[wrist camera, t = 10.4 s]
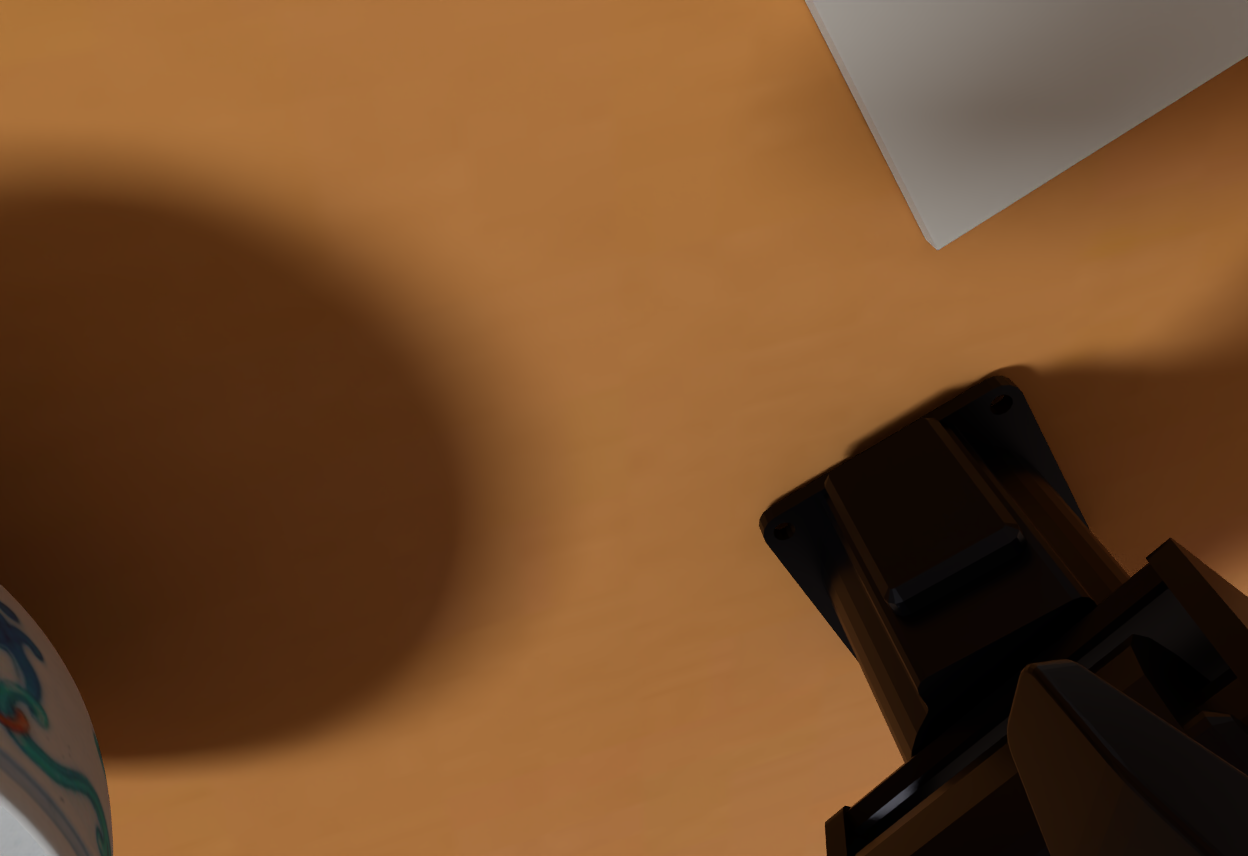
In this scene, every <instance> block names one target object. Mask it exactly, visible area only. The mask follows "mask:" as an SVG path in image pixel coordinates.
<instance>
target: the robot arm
mask: <svg viewBox="0 0 1248 856" xmlns="http://www.w3.org/2000/svg"><path fill="white" fill-rule="evenodd" d="M1000 395H1004V396H1003V398H1002V400H1001V401H1000V402H998V403H997V404H994V405H992V406H991V403H992V401H993V400H994V399H995V398H996V397H998V396H1000ZM782 523H789V524H788V525H787V526H786V527H785V528H782V529H775V528H776V527H777V526H778V525H779V524H782ZM759 527H760V529H761V532H762V534H763V537H764V539H765V542H766V543H767V544H768V546H769V547H770V548H771V550H772V551H773V552H774V553H775V555H776V556H777V557H778V559H779V560H780V561H781V563H782V564H783V565H784V566H785V568H786V569H787V570H788V572H789V573H790V574H791V575H792V577H793V578H794V579H795V581H796V582H797V583H798V584H799V586H800V587H801V588H802V590H803V591H804V592H805V594H806V595H807V596H808V597H809V599H810V600H811V601H812V603H813V604H814V605H815V606H816V608H817V609H818V610H819V612H820V613H821V614H822V615H823V617H824V618H825V619H826V621H827V622H828V623H829V625H830V626H831V627H832V628H833V630H834V631H835V632H836V634H837V635H838V636H839V637H840V639H841V640H842V641H843V643H844V644H845V645H846V646H847V648H848V649H849V650H850V652H851V653H852V654H853V656H854V657H855V658H856V659H857V661H858V662H859V664H860V666H861V668H862V671H863V673H864V675H865V677H866V679H867V681H868V684H869V686H870V688H871V690H872V692H873V695H874V697H875V699H876V701H877V703H878V705H879V708H880V710H881V712H882V714H883V716H884V719H885V721H886V723H887V725H888V727H889V729H890V732H891V734H892V736H893V738H894V740H895V742H896V745H897V747H898V749H899V751H900V753H901V756H902V758H903V760H904V762H905V763H904V764H903V765H902V766H901V767H899V768H898V769H897V770H896V771H895V772H893V773H892V774H891V775H890V776H889V777H887V778H886V779H885V780H884V781H882V782H881V783H880V784H879V785H878V786H876V787H875V788H874V789H873V790H871V791H870V792H869V793H868V794H867V795H865V796H864V797H863V798H862V799H861V800H859V801H858V802H857V803H856V804H854V805H853V806H852V807H849V806H844V807H843V808H842V809H841V810H839V811H838V812H837V813H836V814H834V815H833V816H832V817H831V818H830V819H828V820H827V821H826V822H825V834H826V849H827V856H1248V597H1247V596H1246V595H1244V594H1243V593H1242V592H1240V591H1239V590H1238V589H1237V588H1235V587H1234V586H1233V585H1231V584H1230V583H1229V582H1227V581H1226V580H1225V579H1224V578H1222V577H1221V576H1220V575H1218V574H1217V573H1216V572H1215V571H1213V570H1212V569H1211V568H1209V567H1208V566H1207V565H1206V564H1204V563H1203V562H1202V561H1200V560H1199V559H1198V558H1197V557H1195V556H1194V555H1193V554H1191V553H1190V552H1189V551H1188V550H1186V549H1185V548H1184V547H1182V546H1181V545H1180V544H1179V543H1177V542H1176V541H1175V540H1173V539H1172V538H1169V539H1168V540H1167V541H1166V542H1164V543H1163V544H1162V545H1161V546H1159V547H1158V548H1157V549H1156V550H1155V551H1153V552H1152V553H1151V554H1150V555H1149V556H1147V557H1146V559H1147V561H1148V562H1149V563H1148V564H1147V565H1145V566H1144V567H1143V568H1142V569H1141V570H1139V571H1138V572H1137V573H1136V574H1134V575H1133V576H1132V577H1131V578H1130V576H1129V575H1128V574H1127V573H1126V572H1125V571H1124V569H1123V568H1122V567H1121V566H1120V565H1119V564H1118V562H1117V561H1116V560H1115V559H1114V558H1113V557H1112V556H1111V554H1110V553H1109V552H1108V551H1107V550H1106V549H1105V547H1104V546H1103V545H1102V544H1101V543H1100V542H1099V540H1098V539H1097V538H1096V537H1095V536H1094V535H1093V534H1092V532H1091V531H1090V530H1089V527H1088V525H1087V523H1086V521H1085V519H1084V517H1083V515H1082V513H1081V511H1080V509H1079V507H1078V505H1077V503H1076V501H1075V499H1074V497H1073V495H1072V493H1071V491H1070V489H1069V487H1068V485H1067V483H1066V481H1065V479H1064V477H1063V475H1062V472H1061V470H1060V468H1059V466H1058V464H1057V462H1056V460H1055V458H1054V456H1053V454H1052V452H1051V450H1050V448H1049V446H1048V444H1047V442H1046V440H1045V438H1044V436H1043V434H1042V432H1041V430H1040V428H1039V426H1038V424H1037V422H1036V420H1035V417H1034V415H1033V413H1032V411H1031V409H1030V407H1029V405H1028V403H1027V401H1026V399H1025V397H1024V395H1023V393H1022V392H1021V391H1020V389H1019V388H1018V387H1017V386H1016V385H1015V384H1014V383H1013V382H1012V381H1011V380H1010V379H1009V378H1006V377H1004V376H994V377H991V378H989V379H986V380H984V381H983V382H981V383H979V384H977V385H976V386H974V387H972V388H971V389H969V390H967V391H966V392H964V393H962V394H961V395H959V396H957V397H955V398H954V399H952V400H950V401H949V402H947V403H945V404H944V405H942V406H940V407H939V408H937V409H935V410H933V411H932V412H930V413H928V414H927V415H925V416H923V417H922V418H920V419H918V420H917V421H915V422H913V423H912V424H910V425H908V426H906V427H905V428H903V429H901V430H900V431H898V432H896V433H895V434H893V435H891V436H890V437H888V438H886V439H884V440H883V441H881V442H879V443H878V444H876V445H874V446H873V447H871V448H869V449H868V450H866V451H864V452H862V453H861V454H859V455H857V456H856V457H854V458H852V459H851V460H849V461H847V462H846V463H844V464H842V465H841V466H839V467H837V468H835V469H834V470H832V471H830V472H829V473H827V474H825V475H824V476H822V477H820V478H819V479H817V480H815V481H813V482H812V483H810V484H808V485H807V486H805V487H803V488H802V489H800V490H798V491H797V492H795V493H793V494H791V495H790V496H788V497H786V498H785V499H783V500H781V501H780V502H778V503H776V504H775V505H773V506H771V507H770V508H768V509H767V510H766V511H765V512H764V513H763V514H762V516H761V518H760V521H759Z"/></svg>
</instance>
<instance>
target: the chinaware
mask: <svg viewBox="0 0 1248 856" xmlns="http://www.w3.org/2000/svg"><path fill="white" fill-rule="evenodd" d="M0 856H113V836H112V821H111V809H110V801H109V794H108V787H107V781H106V775H105V770H104V765H103V761H102V756H101V752H100V748H99V744H98V741H97V738H96V734H95V731H94V728H93V725H92V722H91V719H90V716H89V714H88V711H87V709H86V706H85V704H84V701H83V699H82V697H81V695H80V693H79V690H78V688H77V686H76V684H75V682H74V680H73V678H72V676H71V675H70V673H69V671H68V669H67V667H66V665H65V664H64V662H63V661H62V659H61V657H60V656H59V654H58V653H57V651H56V649H55V648H54V646H53V645H52V644H51V642H50V641H49V639H48V638H47V636H46V635H45V634H44V632H43V631H42V630H41V628H40V627H39V626H38V625H37V623H36V622H35V621H34V619H33V618H32V617H31V616H30V615H29V614H28V612H27V611H26V610H25V609H24V608H23V607H22V606H21V605H20V603H19V602H18V601H17V600H16V599H15V598H14V597H13V596H12V595H11V594H10V593H9V592H8V591H7V590H6V589H5V588H4V587H3V586H2V585H1V584H0Z"/></svg>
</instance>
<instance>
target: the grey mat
mask: <svg viewBox="0 0 1248 856" xmlns="http://www.w3.org/2000/svg"><path fill="white" fill-rule="evenodd" d="M805 2H806V4H807V6H808V8H809V10H810V12H811V14H812V16H813V18H814V19H815V21H816V23H817V25H818V27H819V29H820V31H821V33H822V35H823V37H824V39H825V41H826V43H827V45H828V47H829V49H830V51H831V53H832V55H833V57H834V59H835V61H836V63H837V65H838V67H839V69H840V71H841V73H842V75H843V77H844V79H845V81H846V83H847V85H848V87H849V89H850V91H851V93H852V95H853V97H854V99H855V101H856V103H857V105H858V107H859V109H860V111H861V112H862V114H863V116H864V118H865V120H866V122H867V124H868V126H869V128H870V130H871V132H872V134H873V136H874V138H875V140H876V142H877V144H878V146H879V148H880V150H881V152H882V154H883V156H884V158H885V160H886V162H887V164H888V166H889V168H890V170H891V172H892V174H893V176H894V178H895V180H896V182H897V184H898V186H899V188H900V190H901V192H902V194H903V196H904V198H905V200H906V202H907V203H908V205H909V207H910V209H911V211H912V213H913V215H914V217H915V219H916V221H917V223H918V225H919V227H920V229H921V231H922V233H923V235H924V237H925V239H926V240H927V241H928V242H929V243H930V244H931V245H932V246H933V247H934V248H935V249H937V250H939V249H941V248H942V247H944V246H946V245H947V244H949V243H950V242H952V241H954V240H955V239H957V238H958V237H960V236H961V235H963V234H965V233H966V232H968V231H969V230H971V229H973V228H974V227H976V226H977V225H979V224H981V223H982V222H984V221H985V220H987V219H989V218H990V217H992V216H993V215H995V214H997V213H998V212H1000V211H1001V210H1003V209H1005V208H1006V207H1008V206H1009V205H1011V204H1012V203H1014V202H1016V201H1017V200H1019V199H1020V198H1022V197H1024V196H1025V195H1027V194H1028V193H1030V192H1032V191H1033V190H1035V189H1036V188H1038V187H1040V186H1041V185H1043V184H1044V183H1046V182H1048V181H1049V180H1051V179H1052V178H1054V177H1055V176H1057V175H1059V174H1060V173H1062V172H1063V171H1065V170H1067V169H1068V168H1070V167H1071V166H1073V165H1075V164H1076V163H1078V162H1079V161H1081V160H1083V159H1084V158H1086V157H1087V156H1089V155H1091V154H1092V153H1094V152H1095V151H1097V150H1099V149H1100V148H1102V147H1103V146H1105V145H1106V144H1108V143H1110V142H1111V141H1113V140H1114V139H1116V138H1118V137H1119V136H1121V135H1122V134H1124V133H1126V132H1127V131H1129V130H1130V129H1132V128H1134V127H1135V126H1137V125H1138V124H1140V123H1142V122H1143V121H1145V120H1146V119H1148V118H1150V117H1151V116H1153V115H1154V114H1156V113H1157V112H1159V111H1161V110H1162V109H1164V108H1165V107H1167V106H1169V105H1170V104H1172V103H1173V102H1175V101H1177V100H1178V99H1180V98H1181V97H1183V96H1185V95H1186V94H1188V93H1189V92H1191V91H1193V90H1194V89H1196V88H1197V87H1199V86H1201V85H1202V84H1204V83H1205V82H1207V81H1208V80H1210V79H1212V78H1213V77H1215V76H1216V75H1218V74H1220V73H1221V72H1223V71H1224V70H1226V69H1228V68H1229V67H1231V66H1232V65H1234V64H1236V63H1237V62H1239V61H1240V60H1242V59H1244V58H1245V57H1247V56H1248V0H805Z"/></svg>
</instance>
